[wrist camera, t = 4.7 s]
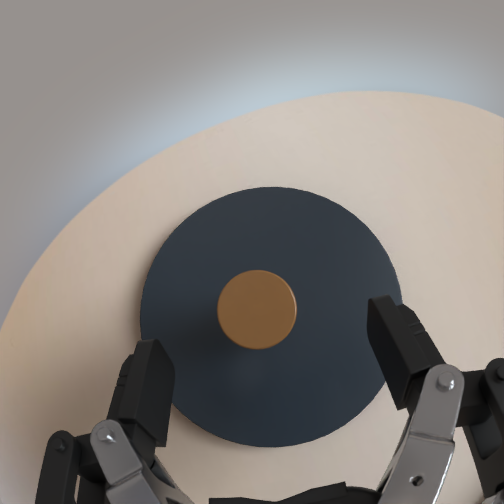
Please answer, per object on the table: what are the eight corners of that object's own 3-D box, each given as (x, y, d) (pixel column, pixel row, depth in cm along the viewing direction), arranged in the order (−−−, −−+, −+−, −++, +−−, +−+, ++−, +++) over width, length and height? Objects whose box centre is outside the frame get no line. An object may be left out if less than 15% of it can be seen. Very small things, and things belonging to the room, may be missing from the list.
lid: (173, 449, 16) (109, 505, 8) (138, 224, 20) (67, 170, 12) (413, 405, 15) (483, 444, 7) (359, 176, 19) (391, 93, 11)
